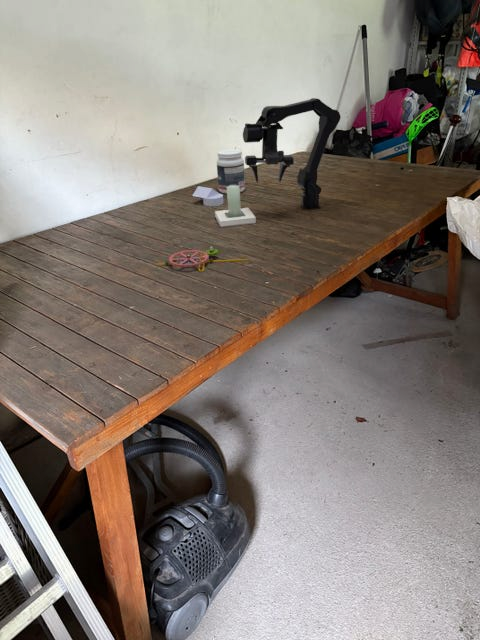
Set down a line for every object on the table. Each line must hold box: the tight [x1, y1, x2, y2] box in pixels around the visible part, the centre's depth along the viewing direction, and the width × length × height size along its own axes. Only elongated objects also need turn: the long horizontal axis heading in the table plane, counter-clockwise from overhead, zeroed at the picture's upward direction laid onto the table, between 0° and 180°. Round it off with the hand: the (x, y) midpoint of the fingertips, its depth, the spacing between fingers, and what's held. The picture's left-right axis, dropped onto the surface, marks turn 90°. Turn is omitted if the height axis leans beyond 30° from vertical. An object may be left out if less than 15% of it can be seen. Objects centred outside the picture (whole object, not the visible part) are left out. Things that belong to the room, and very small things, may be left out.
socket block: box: [214, 207, 257, 228], centre depth 202 cm, size 14×14×2 cm
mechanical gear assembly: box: [156, 246, 249, 273], centre depth 164 cm, size 30×4×15 cm
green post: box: [226, 185, 242, 218], centre depth 199 cm, size 5×5×13 cm
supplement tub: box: [216, 149, 246, 195], centre depth 238 cm, size 13×13×18 cm
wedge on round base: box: [192, 185, 225, 207], centre depth 225 cm, size 9×7×13 cm
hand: (268, 182), depth 203 cm, fingers open, 9 cm apart
